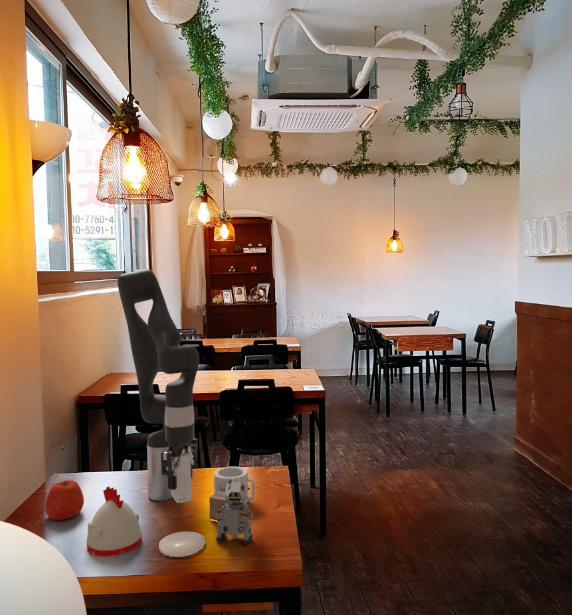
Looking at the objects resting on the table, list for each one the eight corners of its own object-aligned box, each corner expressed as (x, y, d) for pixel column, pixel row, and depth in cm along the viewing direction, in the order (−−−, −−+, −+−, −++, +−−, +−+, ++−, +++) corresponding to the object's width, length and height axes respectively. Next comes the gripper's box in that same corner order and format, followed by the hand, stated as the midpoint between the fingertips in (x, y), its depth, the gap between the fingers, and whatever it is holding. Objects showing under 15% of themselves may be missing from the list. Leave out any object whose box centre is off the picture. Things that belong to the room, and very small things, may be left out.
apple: (70, 525, 152) (69, 489, 152) (36, 522, 154) (35, 486, 154) (91, 509, 163) (90, 475, 162) (59, 506, 165) (58, 473, 164)
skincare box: (192, 500, 138) (192, 455, 137) (175, 504, 136) (174, 457, 135) (186, 492, 143) (185, 448, 143) (169, 495, 141) (168, 450, 141)
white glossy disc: (175, 532, 148) (175, 528, 148) (213, 539, 143) (213, 535, 143) (149, 552, 137) (149, 548, 137) (189, 561, 132) (189, 557, 132)
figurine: (258, 529, 149) (258, 477, 148) (245, 549, 138) (245, 493, 137) (228, 525, 151) (227, 474, 151) (213, 545, 140) (212, 490, 140)
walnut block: (218, 513, 159) (217, 491, 159) (232, 516, 158) (232, 493, 157) (209, 520, 155) (209, 497, 154) (225, 523, 153) (224, 500, 152)
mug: (207, 506, 164) (207, 475, 164) (224, 493, 174) (224, 464, 174) (247, 514, 159) (246, 481, 159) (262, 500, 169) (261, 469, 169)
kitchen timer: (122, 526, 152) (121, 475, 151) (151, 541, 143) (150, 486, 142) (76, 545, 141) (75, 490, 140) (105, 562, 132) (104, 503, 132)
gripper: (182, 414, 146) (183, 472, 147) (151, 427, 133) (152, 492, 134) (206, 416, 144) (206, 476, 144) (176, 430, 130) (177, 496, 131)
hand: (180, 483), depth 139 cm, fingers closed on skincare box, 7 cm apart
